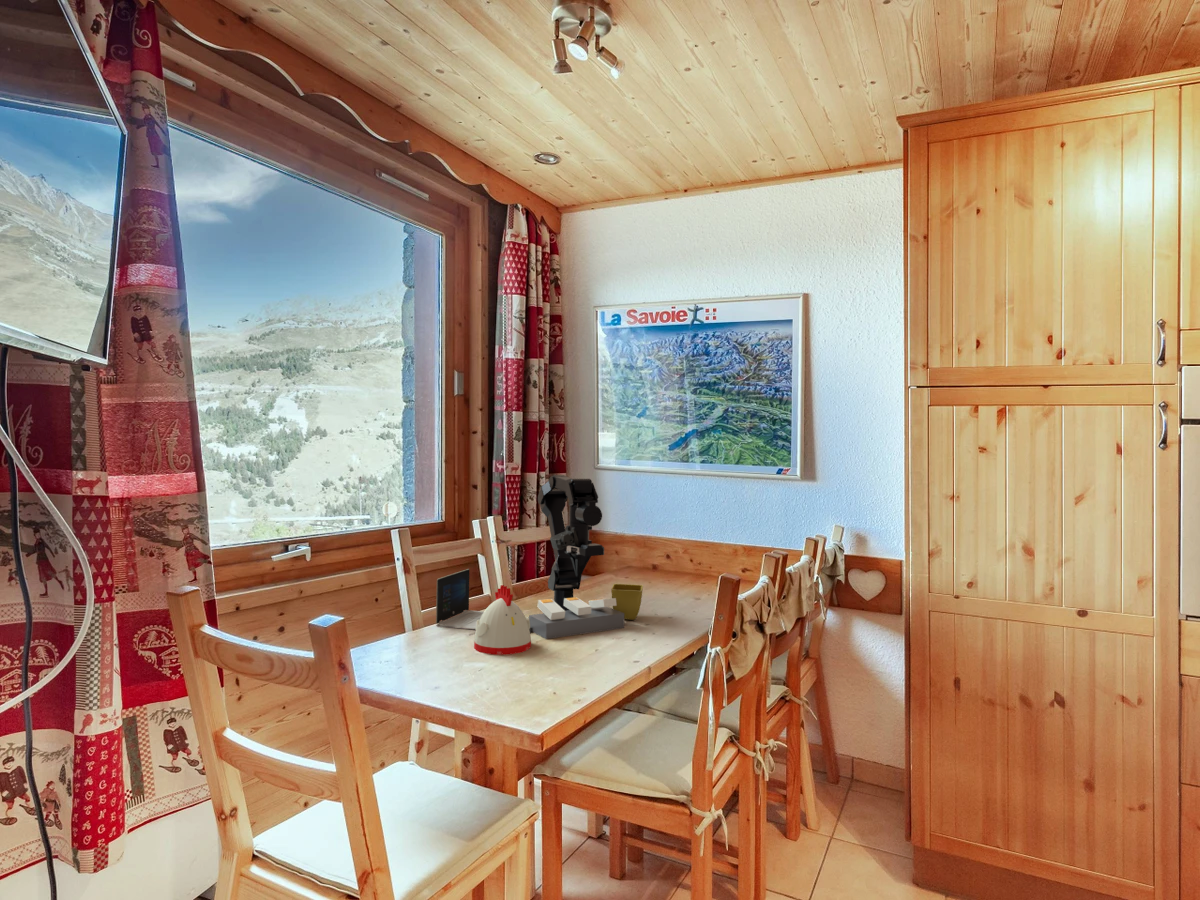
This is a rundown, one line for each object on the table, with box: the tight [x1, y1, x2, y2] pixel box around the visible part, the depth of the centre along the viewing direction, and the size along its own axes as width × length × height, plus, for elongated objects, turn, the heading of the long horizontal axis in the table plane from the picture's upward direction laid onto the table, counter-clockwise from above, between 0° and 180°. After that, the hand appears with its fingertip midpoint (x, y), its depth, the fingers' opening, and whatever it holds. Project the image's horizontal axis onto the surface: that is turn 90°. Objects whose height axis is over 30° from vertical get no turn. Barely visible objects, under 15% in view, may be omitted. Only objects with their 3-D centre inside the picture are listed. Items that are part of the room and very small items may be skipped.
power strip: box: [528, 606, 625, 640], centre depth 192 cm, size 10×30×4 cm, turn 122°
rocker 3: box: [588, 597, 617, 608], centre depth 198 cm, size 8×4×2 cm, turn 33°
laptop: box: [435, 568, 484, 631], centre depth 201 cm, size 18×12×13 cm
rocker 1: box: [536, 598, 565, 620], centre depth 190 cm, size 8×4×2 cm, turn 31°
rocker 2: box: [563, 596, 592, 615], centre depth 194 cm, size 8×4×2 cm, turn 32°
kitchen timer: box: [473, 584, 532, 656], centre depth 176 cm, size 14×14×15 cm
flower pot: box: [611, 583, 644, 621], centre depth 207 cm, size 9×9×9 cm
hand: (578, 576), depth 206 cm, fingers closed
